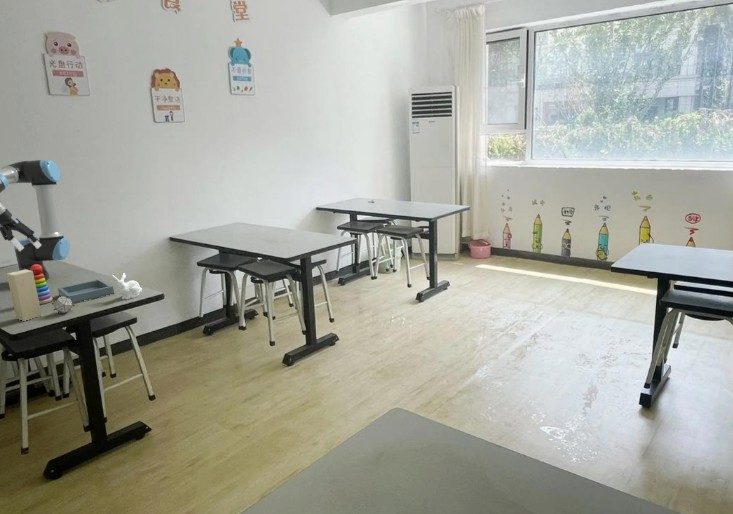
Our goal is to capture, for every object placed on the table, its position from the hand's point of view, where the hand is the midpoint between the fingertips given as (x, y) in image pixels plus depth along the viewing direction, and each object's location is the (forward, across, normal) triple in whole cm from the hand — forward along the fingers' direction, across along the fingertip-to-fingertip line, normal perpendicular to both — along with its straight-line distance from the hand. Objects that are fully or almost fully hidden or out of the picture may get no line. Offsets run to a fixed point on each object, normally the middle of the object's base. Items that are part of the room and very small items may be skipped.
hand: (30, 248), depth 264 cm
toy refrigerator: (+16, +19, -32) cm, 41 cm away
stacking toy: (+21, +5, -16) cm, 27 cm away
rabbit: (+34, +41, -2) cm, 53 cm away
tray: (+29, +17, -4) cm, 34 cm away
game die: (+22, +30, -24) cm, 44 cm away
